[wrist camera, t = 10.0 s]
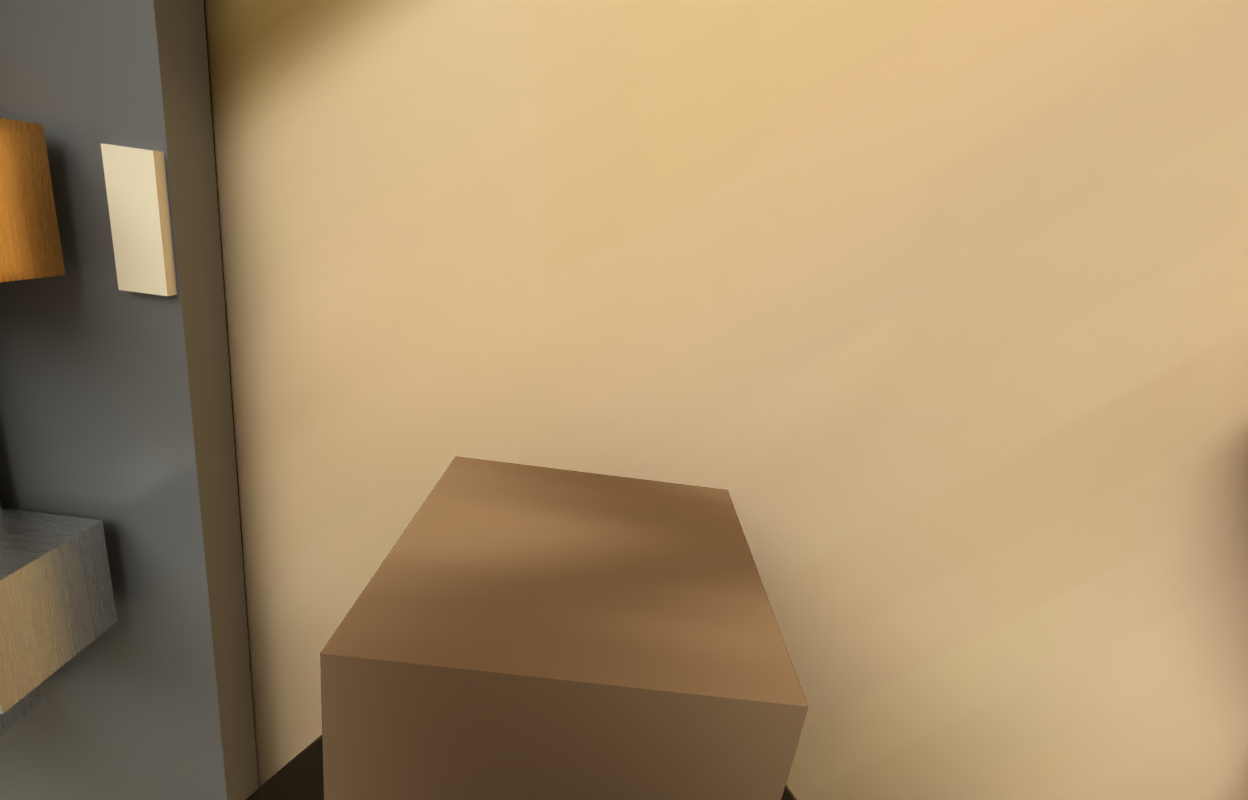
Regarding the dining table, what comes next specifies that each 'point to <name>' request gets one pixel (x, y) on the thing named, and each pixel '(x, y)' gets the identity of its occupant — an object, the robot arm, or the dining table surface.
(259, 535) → the dining table surface
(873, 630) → the dining table surface
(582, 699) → the marked link
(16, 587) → the toothed rack
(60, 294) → the guide plate
